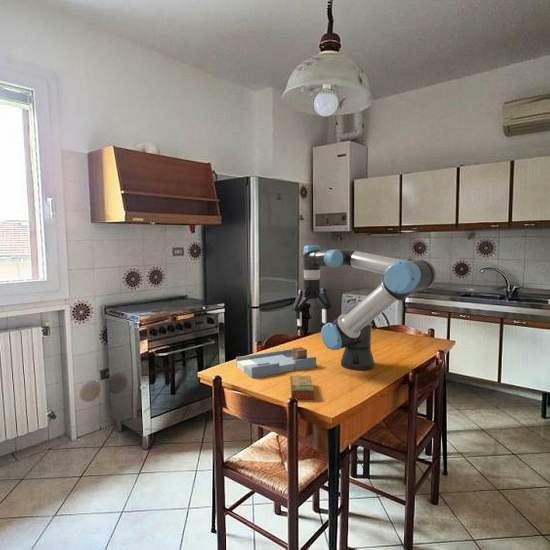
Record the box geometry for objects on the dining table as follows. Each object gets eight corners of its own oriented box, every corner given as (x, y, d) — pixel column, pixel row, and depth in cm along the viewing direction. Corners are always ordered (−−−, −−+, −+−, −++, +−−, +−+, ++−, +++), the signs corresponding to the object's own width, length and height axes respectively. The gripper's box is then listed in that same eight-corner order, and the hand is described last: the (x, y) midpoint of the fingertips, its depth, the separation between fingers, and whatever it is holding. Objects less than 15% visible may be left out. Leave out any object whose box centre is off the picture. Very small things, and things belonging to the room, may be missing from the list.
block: (306, 360, 183) (306, 349, 182) (297, 361, 180) (297, 350, 180) (301, 357, 187) (301, 347, 187) (291, 358, 185) (291, 348, 184)
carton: (310, 385, 160) (310, 375, 159) (314, 401, 144) (314, 389, 143) (290, 385, 160) (290, 375, 160) (291, 401, 144) (291, 389, 144)
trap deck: (316, 366, 182) (316, 357, 182) (252, 378, 168) (252, 367, 167) (296, 357, 198) (296, 348, 198) (236, 366, 183) (236, 357, 183)
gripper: (329, 277, 194) (329, 320, 195) (284, 279, 182) (284, 325, 184) (338, 278, 187) (338, 323, 188) (292, 280, 176) (292, 328, 177)
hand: (312, 324), depth 186 cm, fingers open, 13 cm apart
